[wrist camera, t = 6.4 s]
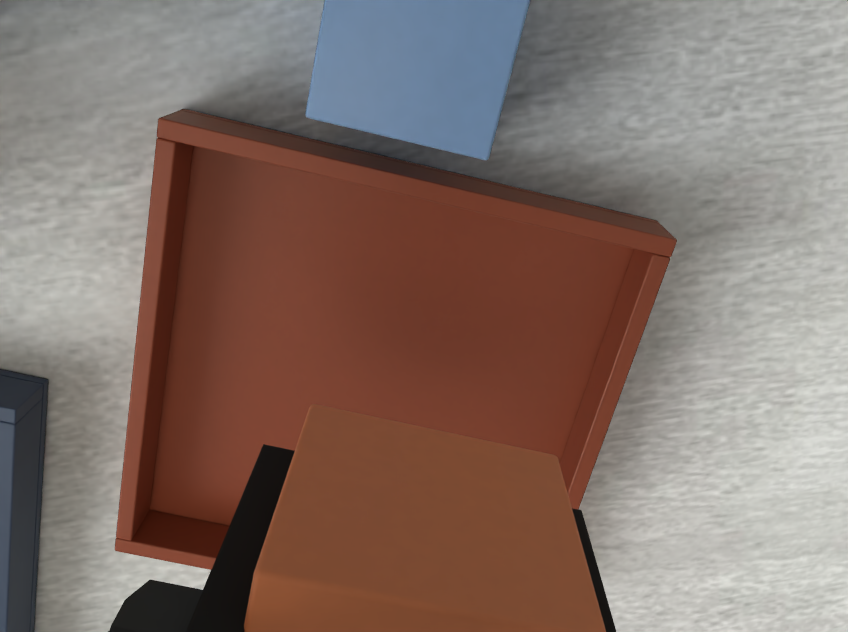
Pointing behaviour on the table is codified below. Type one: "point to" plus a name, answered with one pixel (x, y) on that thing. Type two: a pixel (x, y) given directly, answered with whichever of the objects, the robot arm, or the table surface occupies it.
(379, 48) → the blue block
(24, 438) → the slate tray
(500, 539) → the terracotta block
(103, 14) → the table surface
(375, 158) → the clay tray
